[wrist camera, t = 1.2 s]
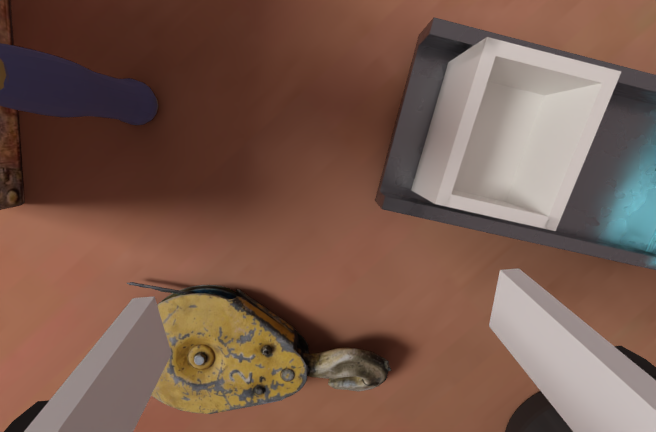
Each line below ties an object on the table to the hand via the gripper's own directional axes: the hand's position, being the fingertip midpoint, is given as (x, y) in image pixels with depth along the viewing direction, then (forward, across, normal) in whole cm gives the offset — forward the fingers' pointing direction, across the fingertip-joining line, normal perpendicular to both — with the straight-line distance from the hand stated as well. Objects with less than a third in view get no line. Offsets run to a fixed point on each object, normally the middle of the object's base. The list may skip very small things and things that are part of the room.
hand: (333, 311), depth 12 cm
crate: (+19, -16, -3) cm, 25 cm away
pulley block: (+19, +8, +20) cm, 29 cm away
